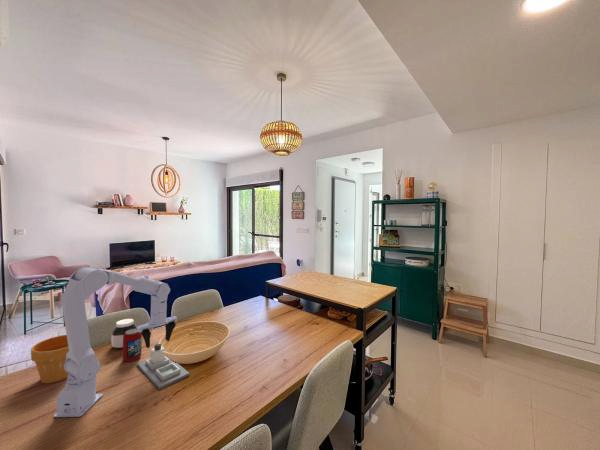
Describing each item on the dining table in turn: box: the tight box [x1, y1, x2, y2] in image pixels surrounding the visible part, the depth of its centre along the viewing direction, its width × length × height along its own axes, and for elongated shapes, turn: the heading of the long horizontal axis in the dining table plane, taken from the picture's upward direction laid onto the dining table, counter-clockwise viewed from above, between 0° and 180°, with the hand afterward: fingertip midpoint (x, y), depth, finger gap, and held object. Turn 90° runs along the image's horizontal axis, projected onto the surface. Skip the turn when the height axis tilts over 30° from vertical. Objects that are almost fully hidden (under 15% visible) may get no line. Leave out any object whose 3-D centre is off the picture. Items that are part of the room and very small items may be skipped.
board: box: [136, 356, 190, 390], centre depth 99 cm, size 22×11×2 cm, turn 51°
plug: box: [149, 343, 166, 365], centre depth 103 cm, size 4×4×8 cm
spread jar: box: [110, 318, 138, 350], centre depth 119 cm, size 12×11×12 cm
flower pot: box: [30, 334, 69, 384], centre depth 94 cm, size 14×14×13 cm
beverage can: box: [122, 328, 143, 362], centre depth 107 cm, size 7×7×12 cm
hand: (157, 343), depth 103 cm, fingers open, 7 cm apart
